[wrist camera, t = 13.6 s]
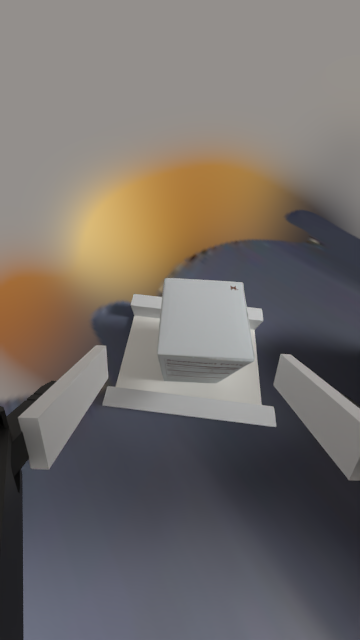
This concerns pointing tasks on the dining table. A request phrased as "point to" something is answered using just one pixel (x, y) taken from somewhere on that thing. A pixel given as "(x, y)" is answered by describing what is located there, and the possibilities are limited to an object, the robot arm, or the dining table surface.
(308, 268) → the dining table surface
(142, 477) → the dining table surface
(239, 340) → the supplement box
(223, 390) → the tray
